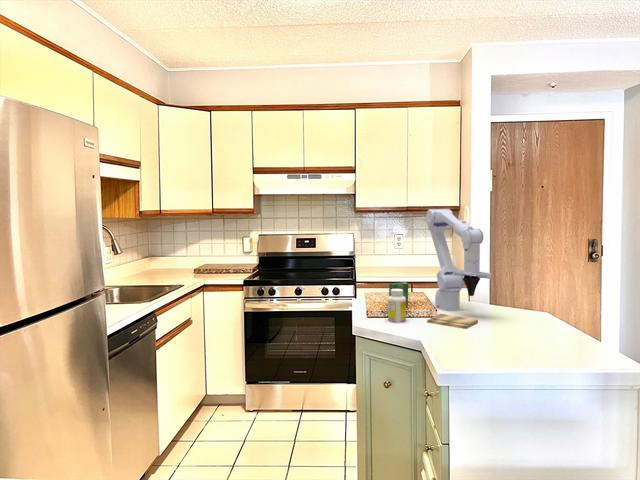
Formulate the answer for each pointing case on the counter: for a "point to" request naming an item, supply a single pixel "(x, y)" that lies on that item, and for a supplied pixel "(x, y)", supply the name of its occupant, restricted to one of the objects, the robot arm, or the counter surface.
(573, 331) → the counter surface
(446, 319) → the plank
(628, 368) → the counter surface
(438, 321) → the strip
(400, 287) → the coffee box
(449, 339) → the counter surface
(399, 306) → the supplement bottle
